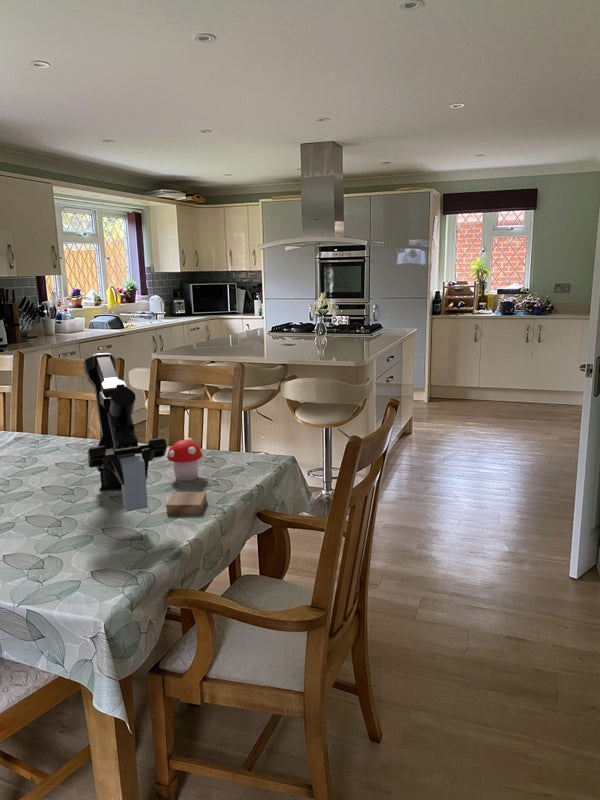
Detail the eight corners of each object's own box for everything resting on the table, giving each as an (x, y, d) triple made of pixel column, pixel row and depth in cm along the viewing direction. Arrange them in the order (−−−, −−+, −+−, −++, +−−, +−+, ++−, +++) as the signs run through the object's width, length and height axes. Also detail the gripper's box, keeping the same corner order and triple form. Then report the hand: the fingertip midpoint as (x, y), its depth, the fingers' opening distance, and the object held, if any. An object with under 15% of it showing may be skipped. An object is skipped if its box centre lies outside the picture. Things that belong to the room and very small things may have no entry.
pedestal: (167, 515, 158) (166, 504, 157) (174, 502, 166) (173, 492, 166) (201, 515, 157) (200, 504, 157) (206, 502, 166) (206, 492, 166)
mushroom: (188, 485, 178) (186, 446, 176) (160, 479, 183) (158, 442, 181) (210, 474, 187) (208, 437, 185) (183, 469, 192) (181, 433, 190)
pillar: (123, 504, 148) (119, 458, 146) (143, 500, 151) (139, 455, 148) (127, 511, 144) (123, 464, 141) (147, 507, 146) (144, 461, 144)
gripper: (155, 438, 162) (168, 490, 155) (82, 448, 154) (92, 503, 147) (160, 417, 153) (174, 470, 146) (84, 426, 145) (95, 483, 138)
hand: (134, 482), depth 145 cm, fingers closed on pillar, 5 cm apart
